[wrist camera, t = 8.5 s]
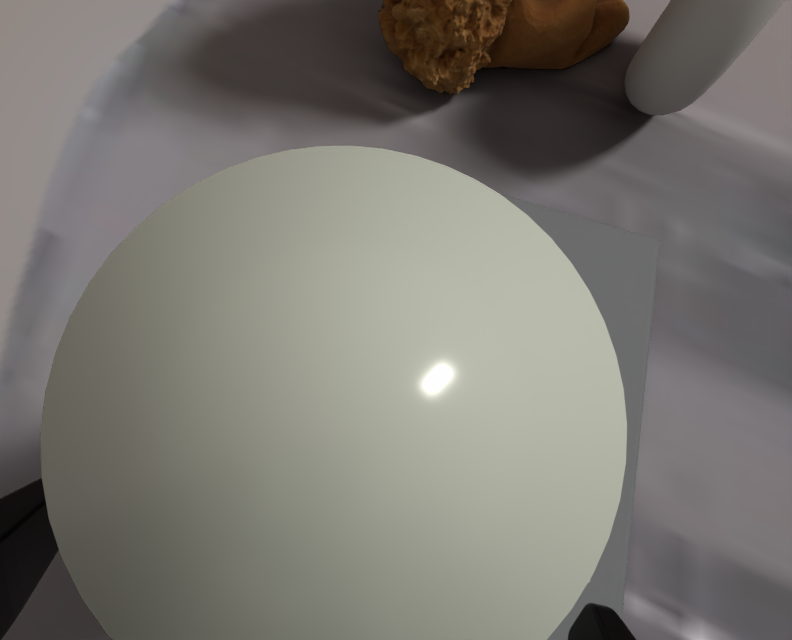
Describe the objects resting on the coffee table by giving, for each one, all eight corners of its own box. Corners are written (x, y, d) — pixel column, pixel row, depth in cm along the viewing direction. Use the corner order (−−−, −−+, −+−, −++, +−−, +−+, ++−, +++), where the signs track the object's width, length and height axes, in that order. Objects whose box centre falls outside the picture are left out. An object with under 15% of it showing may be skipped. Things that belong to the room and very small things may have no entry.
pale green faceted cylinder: (422, 577, 17) (603, 825, 5) (213, 524, 17) (-104, 655, 5) (463, 372, 19) (655, 214, 7) (279, 324, 19) (173, 83, 7)
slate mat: (609, 668, 17) (615, 673, 17) (220, 562, 17) (217, 565, 16) (654, 243, 22) (659, 239, 22) (357, 158, 22) (357, 153, 22)
